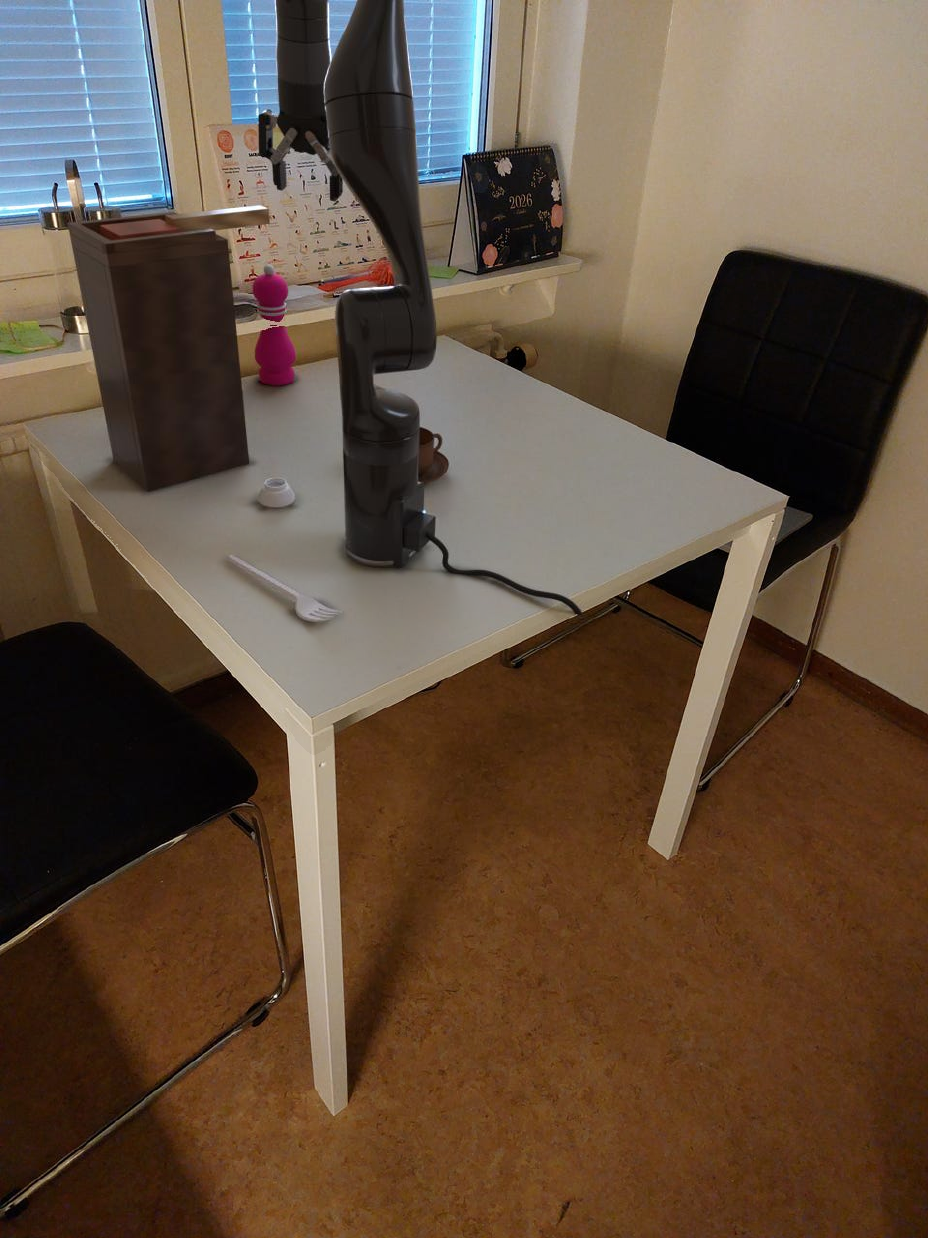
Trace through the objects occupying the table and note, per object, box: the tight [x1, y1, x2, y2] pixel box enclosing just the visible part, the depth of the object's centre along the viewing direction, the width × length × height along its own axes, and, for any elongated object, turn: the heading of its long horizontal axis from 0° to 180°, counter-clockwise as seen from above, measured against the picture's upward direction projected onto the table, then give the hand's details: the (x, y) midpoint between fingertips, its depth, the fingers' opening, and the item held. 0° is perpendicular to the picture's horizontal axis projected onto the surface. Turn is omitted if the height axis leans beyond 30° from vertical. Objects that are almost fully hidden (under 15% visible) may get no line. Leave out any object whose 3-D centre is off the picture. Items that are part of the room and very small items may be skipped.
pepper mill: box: [252, 264, 297, 386], centre depth 156 cm, size 7×7×20 cm
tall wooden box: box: [67, 211, 250, 493], centre depth 124 cm, size 16×12×33 cm
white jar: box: [257, 477, 296, 508], centre depth 125 cm, size 5×3×5 cm
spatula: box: [100, 204, 271, 240], centre depth 118 cm, size 22×6×2 cm, turn 130°
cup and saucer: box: [418, 426, 450, 485], centre depth 133 cm, size 12×12×6 cm
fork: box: [226, 554, 344, 623], centre depth 107 cm, size 3×20×2 cm, turn 49°
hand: (308, 193), depth 136 cm, fingers open, 8 cm apart
